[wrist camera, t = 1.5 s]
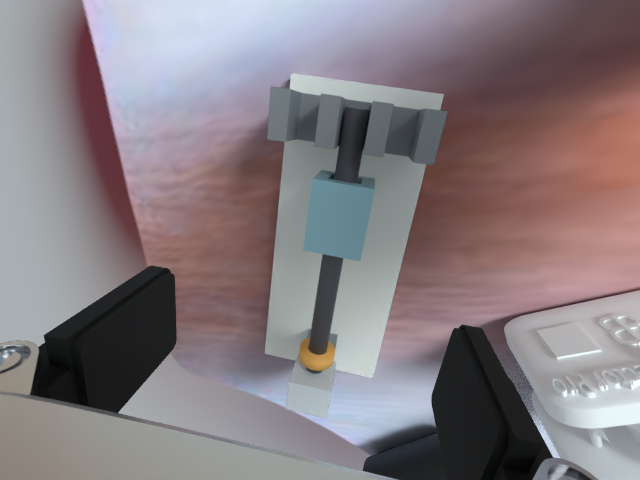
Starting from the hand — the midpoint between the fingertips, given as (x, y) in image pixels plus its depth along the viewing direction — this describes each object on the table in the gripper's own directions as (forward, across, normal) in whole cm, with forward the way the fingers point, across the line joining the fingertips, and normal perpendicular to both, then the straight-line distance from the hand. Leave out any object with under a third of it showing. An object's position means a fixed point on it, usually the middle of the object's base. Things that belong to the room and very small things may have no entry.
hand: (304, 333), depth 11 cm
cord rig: (+21, 0, +5) cm, 21 cm away
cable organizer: (+21, -25, +10) cm, 34 cm away
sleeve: (+16, 0, 0) cm, 16 cm away
